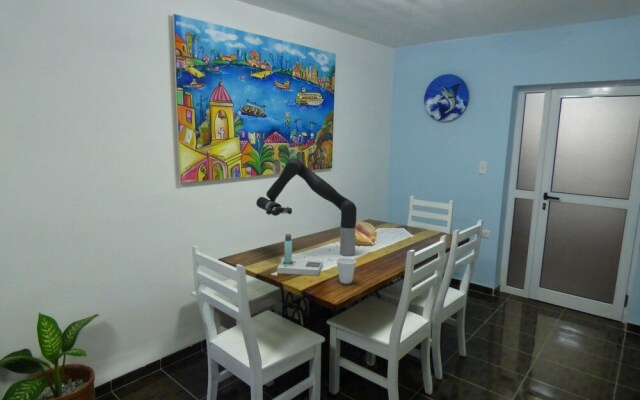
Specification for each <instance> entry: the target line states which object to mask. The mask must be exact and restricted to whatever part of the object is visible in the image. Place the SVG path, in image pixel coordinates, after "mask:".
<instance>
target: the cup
mask: <svg viewBox="0 0 640 400" xmlns="http://www.w3.org/2000/svg"><path fill="white" fill-rule="evenodd" d="M356 264H357V260H356V259H355V258H352V257H340V258H337V259H336V265H337V270H338V276H339V281H340V283H341V284H343V285H344V284H345V285H349V284H352V283H353V279H354V274H355V273H354V272H355V269H356Z"/></svg>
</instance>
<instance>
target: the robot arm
mask: <svg viewBox="0 0 640 400" xmlns="http://www.w3.org/2000/svg"><path fill="white" fill-rule="evenodd" d="M295 176H298V177H300V178H301V179H302V180H304V181H305V183H306V184H307V186H308V187H309V189H311V190H312V192H314V193H315V194H316V195H318V196H319V197H321V198H322V199H324V200H326V201H327V202H329V203H332V204H333V205H334V206H336V207H337V209H338V210H340V212H341V213H340V235H339V236H340V245H339V249H340V250H339V254H340V255H342V256H344V257H352V256H354V255H355V254H356V225H357V206H356V205H355V203H354V202H353V201H351V200H350V199H349V198H347V197H345V196H343V195H342V194H341V193H339V192H338V190H336V189H335V188H334V187H333V186H332V185H331V184H329V182H327V181H325V180H324V179H323V178H321V176H319V175H318V174H316V173H315V172H313V171H312V170H311V169H310V168H309V167H308V166H306V164H304V163H303V162H302V160H300V159H299V158H296V157H292V158H290V159H289V160H288V161H287V162H286V163H285V166H284V168H283V170H282V172H281V173H280V175H279V176H278V178H277V179H276V180H275V181H274V182H273V184H271V186H270V187H269V188H268V190H267V191H266V197H267V198H266V197H264V196H260V197H258V199H256V202H255V203H256V206H257V208H259V209H262V210H264V211H265V214H267V215H268V216H270V215H272V216H274V217H276V216H277V217H278V216H279V215H281V214H283V215H284V214H285V215H286V214H288V215H292V213H293V208H291V207H290V206H286V207H283V206H282V205H281V204H280V203H279V202H276V200H277V198H278V197H279V195H280V194H281V193H282V192H283V190H284V189H285V187H286V186H287V184H289V182H290V181H291V180H292V179H293V178H294V177H295Z"/></svg>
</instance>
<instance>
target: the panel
mask: <svg viewBox="0 0 640 400" xmlns="http://www.w3.org/2000/svg"><path fill="white" fill-rule="evenodd" d="M284 262H285V258H283V260H282V261H281V262H280V263H279V265H278V266H277V267H276V271H277V272H276V274H284V273H285V275H286V274H287V275H303V276H304V275H305V276H317V277H318V276H320V273H321V270H322V268H323V266H324V264H323V263H324V261H323V260H316V259H304V258H303V259H302V258H300V259H299V258H292V265H291V264H284Z"/></svg>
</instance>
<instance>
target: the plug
mask: <svg viewBox="0 0 640 400" xmlns="http://www.w3.org/2000/svg"><path fill="white" fill-rule="evenodd" d="M284 235H285V236H284V237H285V239H284V259H285V262H284V264H291V265H292V259H293V239H292V234H291V233H286V234H284Z"/></svg>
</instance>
